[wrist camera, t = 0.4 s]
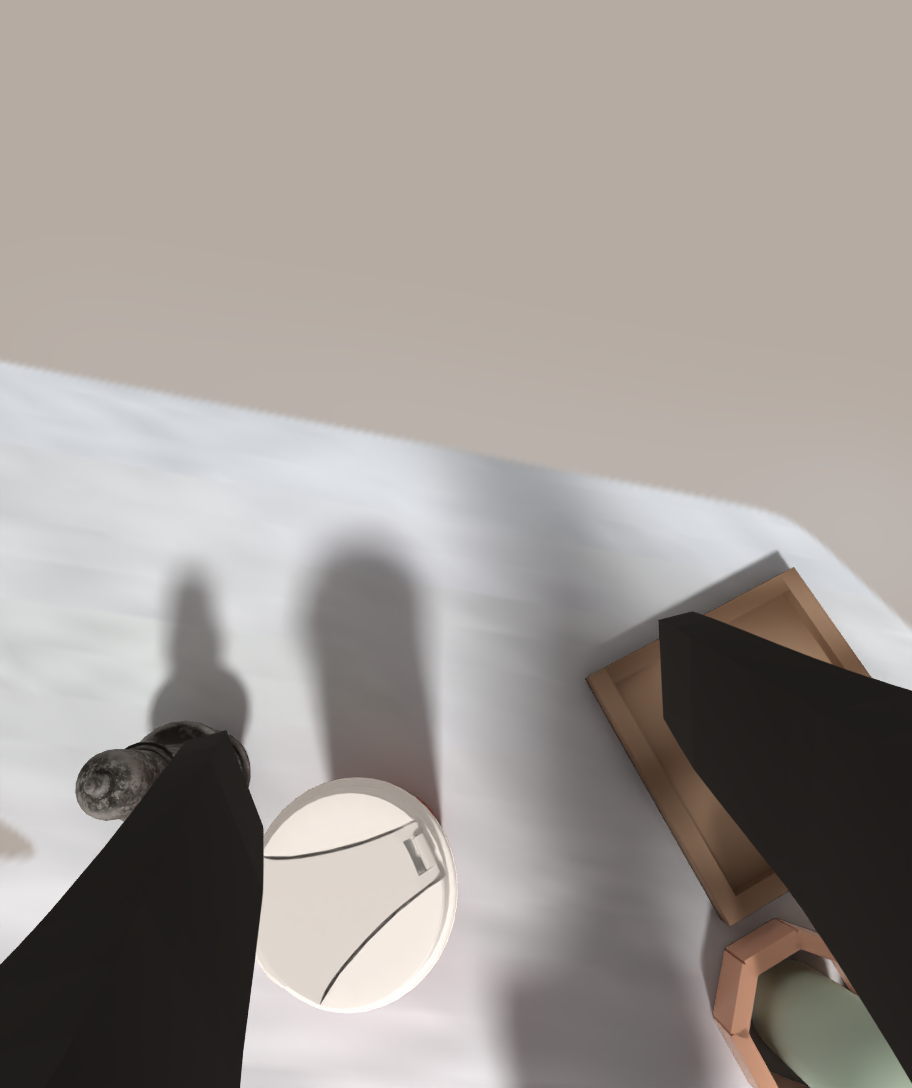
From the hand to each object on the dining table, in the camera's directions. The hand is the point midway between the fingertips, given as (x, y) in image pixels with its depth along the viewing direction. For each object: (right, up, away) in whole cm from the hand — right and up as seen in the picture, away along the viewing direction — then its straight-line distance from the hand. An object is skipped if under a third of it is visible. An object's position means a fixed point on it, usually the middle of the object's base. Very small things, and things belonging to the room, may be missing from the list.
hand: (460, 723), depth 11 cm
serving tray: (+17, -8, +27) cm, 33 cm away
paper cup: (-4, -14, +25) cm, 29 cm away
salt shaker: (-14, -10, +27) cm, 32 cm away
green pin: (+17, -21, +22) cm, 35 cm away
